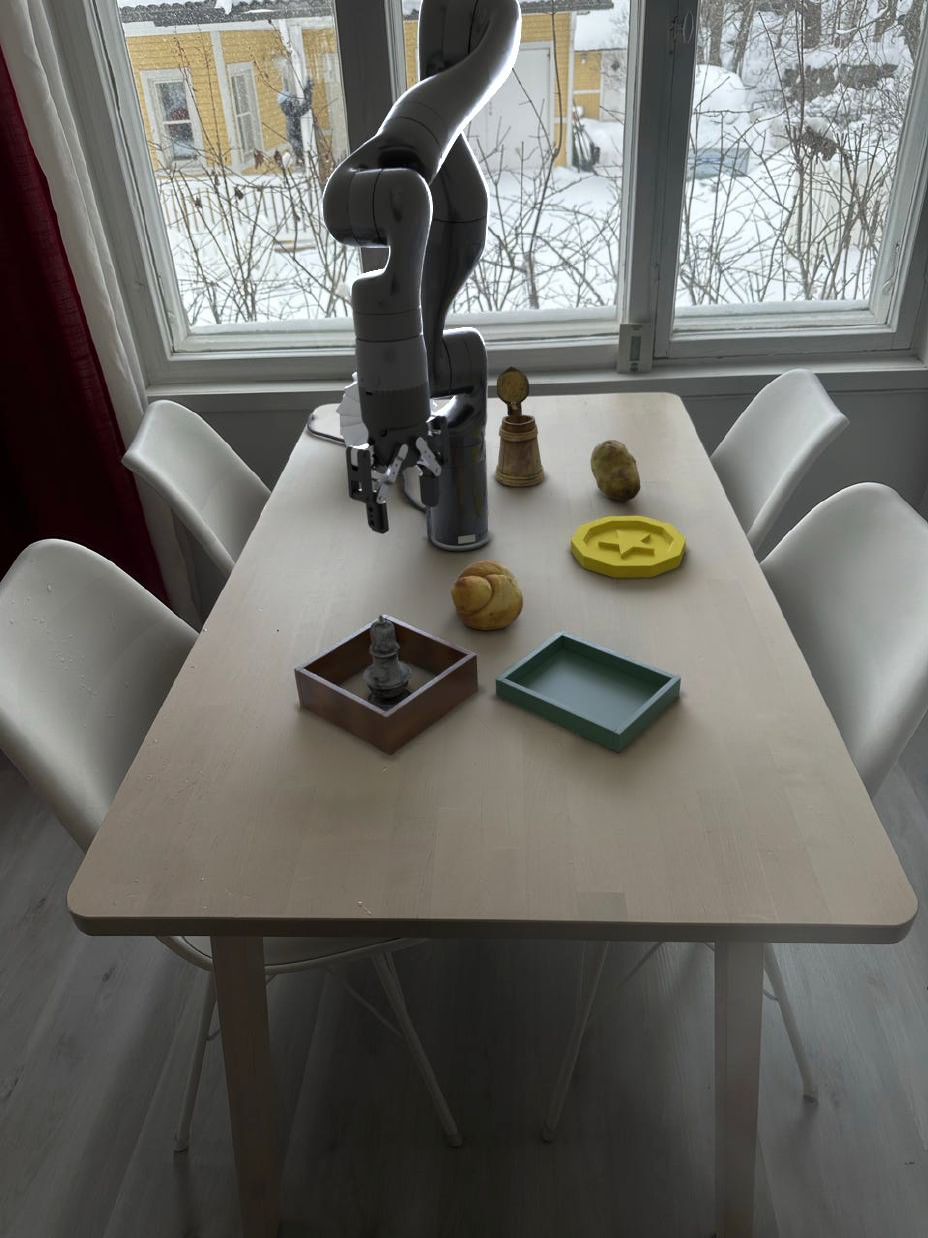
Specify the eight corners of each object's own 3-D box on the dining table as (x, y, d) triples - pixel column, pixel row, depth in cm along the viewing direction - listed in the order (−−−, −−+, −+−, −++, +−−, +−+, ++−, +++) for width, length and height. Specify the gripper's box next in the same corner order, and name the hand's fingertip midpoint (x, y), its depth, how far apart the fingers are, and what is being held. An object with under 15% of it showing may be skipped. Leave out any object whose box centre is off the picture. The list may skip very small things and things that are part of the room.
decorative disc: (608, 517, 154) (608, 506, 153) (704, 545, 144) (705, 534, 143) (550, 556, 143) (550, 545, 142) (650, 589, 134) (650, 577, 133)
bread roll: (455, 590, 136) (453, 541, 132) (522, 588, 135) (521, 539, 131) (451, 637, 125) (448, 586, 121) (523, 636, 124) (523, 584, 120)
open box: (299, 705, 113) (293, 668, 111) (388, 648, 123) (385, 613, 120) (390, 756, 105) (386, 717, 102) (478, 690, 114) (477, 653, 112)
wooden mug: (535, 457, 178) (535, 364, 169) (548, 484, 167) (548, 386, 157) (489, 460, 178) (487, 367, 168) (499, 488, 166) (496, 390, 157)
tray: (495, 696, 113) (495, 679, 112) (560, 646, 122) (560, 630, 121) (618, 753, 103) (619, 734, 102) (679, 695, 112) (681, 677, 111)
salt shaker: (406, 714, 111) (398, 630, 105) (359, 710, 112) (348, 626, 106) (418, 686, 116) (411, 604, 109) (373, 682, 117) (363, 600, 111)
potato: (591, 506, 158) (592, 462, 154) (588, 476, 169) (590, 434, 165) (640, 506, 157) (643, 462, 153) (634, 476, 168) (637, 434, 164)
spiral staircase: (364, 488, 179) (382, 435, 199) (443, 451, 173) (454, 400, 194) (312, 408, 170) (337, 361, 191) (394, 365, 164) (411, 322, 185)
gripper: (411, 356, 104) (422, 490, 113) (319, 389, 95) (338, 532, 103) (462, 365, 100) (470, 504, 108) (371, 400, 91) (386, 549, 99)
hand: (405, 517), depth 106 cm, fingers open, 8 cm apart
